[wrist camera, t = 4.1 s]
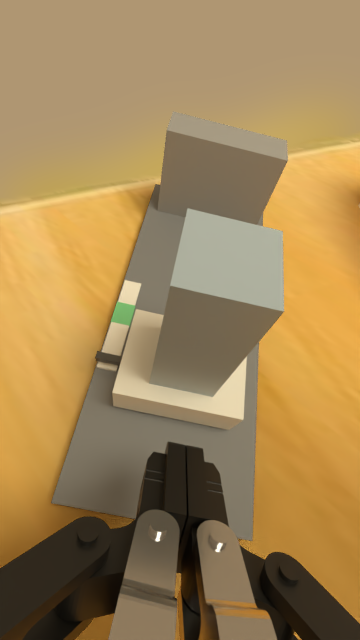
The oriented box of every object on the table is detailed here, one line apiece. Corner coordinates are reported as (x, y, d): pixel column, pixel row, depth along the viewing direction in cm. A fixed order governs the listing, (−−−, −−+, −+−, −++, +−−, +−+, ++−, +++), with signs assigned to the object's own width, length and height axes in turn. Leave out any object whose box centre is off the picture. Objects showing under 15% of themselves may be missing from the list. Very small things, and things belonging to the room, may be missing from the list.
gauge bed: (258, 220, 36) (297, 137, 27) (244, 538, 20) (326, 561, 12) (154, 195, 35) (163, 102, 27) (55, 503, 19) (7, 501, 11)
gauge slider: (240, 273, 29) (314, 129, 18) (229, 430, 21) (342, 349, 10) (133, 249, 28) (140, 84, 17) (83, 400, 21) (39, 282, 10)
